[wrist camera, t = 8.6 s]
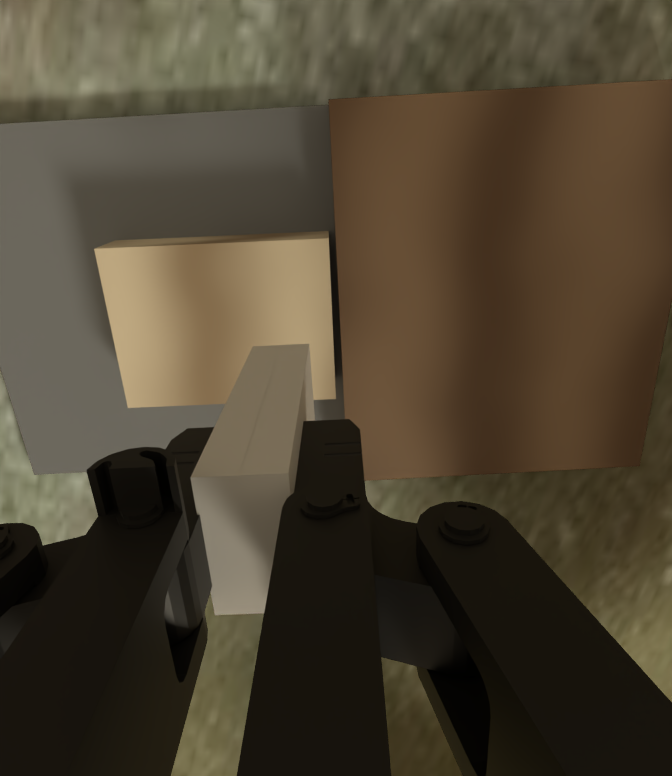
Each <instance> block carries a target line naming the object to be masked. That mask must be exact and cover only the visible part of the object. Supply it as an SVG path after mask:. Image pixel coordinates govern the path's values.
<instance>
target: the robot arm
mask: <svg viewBox="0 0 672 776" xmlns="http://www.w3.org/2000/svg"><path fill="white" fill-rule="evenodd" d="M87 474H88V478H89V482H90V486H91V490H92V493H93V497H94V501H95V505H96V509H97V513H98V518H97V519H96V520H95V522H94V523H93V525H92V526H91V528H90V529H89V531H88V532H87V534H86V535H84V536H81V537H77V538H73V539H69V540H64V541H60V542H56V543H52V544H48V545H42V542H41V539H40V536H39V533H38V532H37V530H36V529H35V527H33V526H30V525H27V524H24V523H6V524H0V776H171V772H172V769H173V765H174V761H175V757H176V754H177V750H178V746H179V743H180V739H181V735H182V732H183V728H184V724H185V721H186V717H187V713H188V710H189V706H190V702H191V699H192V695H193V691H194V688H195V684H196V680H197V677H198V673H199V669H200V666H201V662H202V658H203V655H204V651H205V647H206V644H207V634H208V629H207V623H206V618H205V612H204V611H205V608H206V605H207V601H208V598H209V595H210V591H211V596H212V602H213V608H214V613H215V615H231V614H257V613H264V618H263V624H262V630H261V636H260V641H259V647H258V653H257V659H256V665H255V671H254V677H253V683H252V689H251V695H250V701H249V707H248V713H247V719H246V725H245V731H244V736H243V742H242V748H241V754H240V760H239V766H238V772H237V776H391V768H390V756H389V744H388V733H387V721H386V709H385V698H384V686H383V674H382V663H381V657H384V658H387V659H391V660H395V661H399V662H403V663H407V664H411V665H414V666H417V670H418V675H419V678H420V680H421V682H422V685H423V687H424V689H425V691H426V694H427V696H428V698H429V700H430V703H431V705H432V707H433V709H434V712H435V714H436V716H437V718H438V721H439V723H440V725H441V727H442V730H443V732H444V734H445V736H446V739H447V741H448V743H449V745H450V748H451V750H452V752H453V755H454V757H455V759H456V761H457V764H458V766H459V768H460V770H461V773H462V775H463V776H672V702H671V701H670V700H669V699H668V698H667V697H666V696H665V695H664V694H663V692H662V691H661V690H660V689H659V688H658V687H657V686H656V685H655V684H654V682H653V681H652V680H651V679H650V678H649V677H648V676H647V675H646V674H645V672H644V671H643V670H642V669H641V668H640V667H639V666H638V665H637V664H636V662H635V661H634V660H633V659H632V658H631V657H630V656H629V655H628V654H627V652H626V651H625V650H624V649H623V648H622V647H621V646H620V645H619V644H618V643H617V641H616V640H615V639H614V638H613V637H612V636H611V635H610V634H609V633H608V631H607V630H606V629H605V628H604V627H603V626H602V625H601V624H600V623H599V621H598V620H597V619H596V618H595V617H594V616H593V615H592V614H591V613H590V611H589V610H588V609H587V608H586V607H585V606H584V605H583V604H582V603H581V601H580V600H579V599H578V598H577V597H576V596H575V595H574V594H573V593H572V591H571V590H570V589H569V588H568V587H567V586H566V585H565V584H564V583H563V582H562V580H561V579H560V578H559V577H558V576H557V575H556V574H555V573H554V572H553V570H552V569H551V568H550V567H549V566H548V565H547V564H546V563H545V562H544V560H543V559H542V558H541V557H540V556H539V555H538V554H537V553H536V552H535V550H534V549H533V548H532V547H531V546H530V545H529V544H528V543H527V542H526V540H525V539H524V538H523V537H522V536H521V535H520V534H519V533H518V532H517V530H516V529H515V528H514V527H513V526H512V525H511V524H510V523H509V522H508V520H507V519H505V518H504V517H503V516H501V515H500V514H499V513H497V512H496V511H495V510H493V509H490V508H488V507H485V506H482V505H480V504H475V503H470V502H462V501H459V502H444V503H441V504H438V505H435V506H432V507H430V508H429V509H427V510H426V511H425V512H424V513H422V514H421V515H420V517H419V520H418V522H417V523H411V522H405V521H401V520H397V519H393V518H390V517H388V516H385V515H383V514H381V513H380V512H378V511H377V510H375V509H374V508H373V507H372V506H371V505H370V503H369V502H368V500H367V497H366V493H365V481H364V469H363V458H362V446H361V435H360V429H359V428H358V427H357V426H356V425H355V424H354V423H353V422H352V421H351V420H350V419H339V420H317V421H315V414H314V401H313V387H312V374H311V360H310V347H309V344H291V345H271V346H253V347H252V349H251V351H250V353H249V355H248V358H247V360H246V362H245V364H244V366H243V368H242V370H241V372H240V374H239V377H238V379H237V381H236V383H235V385H234V387H233V389H232V391H231V393H230V395H229V398H228V400H227V402H226V404H225V406H224V408H223V410H222V412H221V414H220V416H219V419H218V421H217V423H216V425H215V427H205V428H187V429H186V430H184V431H183V432H182V433H180V434H179V435H177V436H176V437H175V438H173V439H172V440H171V441H170V443H169V444H168V446H167V448H166V449H162V448H159V447H139V448H132V449H126V450H123V451H120V452H116V453H113V454H110V455H108V456H106V457H104V458H102V459H100V460H98V461H96V462H95V463H94V464H93V465H92V466H90V467H89V468H88V469H87Z"/></svg>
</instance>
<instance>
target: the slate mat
mask: <svg viewBox="0 0 672 776" xmlns="http://www.w3.org/2000/svg"><path fill="white" fill-rule="evenodd" d="M318 231H329V253H330V275H331V297H332V319H333V341H334V364H335V388H336V399H324V400H313V401H314V414H315V421H317V420H339V419H345V413H344V394H343V375H342V355H341V336H340V317H339V297H338V278H337V259H336V239H335V220H334V201H333V182H332V162H331V143H330V124H329V105H317V106H300V107H282V108H265V109H248V110H231V111H214V112H197V113H179V114H162V115H145V116H128V117H111V118H93V119H76V120H59V121H42V122H25V123H8V124H0V368H1V372H2V375H3V378H4V381H5V384H6V387H7V390H8V394H9V397H10V400H11V403H12V406H13V409H14V412H15V416H16V419H17V422H18V425H19V428H20V431H21V434H22V438H23V441H24V444H25V447H26V450H27V453H28V457H29V460H30V463H31V466H32V469H33V472H34V475H37V474H56V473H75V472H87V469H88V468H89V467H90V466H92V465H93V464H94V463H95V462H96V461H98V460H100V459H102V458H104V457H106V456H108V455H110V454H113V453H116V452H120V451H123V450H126V449H132V448H139V447H159V448H162V449H166V448H167V446H168V444H169V443H170V441H171V440H172V439H173V438H175V437H176V436H177V435H179V434H180V433H182V432H183V431H184V430H186V429H187V428H205V427H215V425H216V423H217V421H218V419H219V416H220V414H221V412H222V410H223V408H224V406H225V404H209V405H186V406H163V407H140V408H128V406H127V401H126V397H125V392H124V387H123V383H122V378H121V373H120V368H119V364H118V359H117V354H116V350H115V345H114V340H113V335H112V331H111V326H110V321H109V317H108V312H107V307H106V303H105V298H104V293H103V288H102V284H101V279H100V274H99V270H98V265H97V260H96V255H95V251H94V249H95V248H97V247H100V246H102V245H105V244H108V243H110V242H113V241H115V240H137V239H160V238H182V237H205V236H227V235H250V234H272V233H295V232H318Z"/></svg>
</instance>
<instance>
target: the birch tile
mask: <svg viewBox="0 0 672 776" xmlns="http://www.w3.org/2000/svg"><path fill="white" fill-rule="evenodd" d="M94 251H95V255H96V260H97V265H98V270H99V274H100V279H101V284H102V288H103V293H104V298H105V303H106V307H107V312H108V317H109V321H110V326H111V331H112V335H113V340H114V345H115V350H116V354H117V359H118V364H119V368H120V373H121V378H122V383H123V387H124V392H125V397H126V401H127V406H128V408H140V407H163V406H186V405H209V404H226V402H227V400H228V398H229V395H230V393H231V391H232V389H233V387H234V385H235V383H236V381H237V379H238V377H239V374H240V372H241V370H242V368H243V366H244V364H245V362H246V360H247V358H248V355H249V353H250V351H251V349H252V347H253V346H271V345H291V344H309V347H310V360H311V374H312V387H313V400H324V399H336V388H335V364H334V341H333V319H332V297H331V275H330V253H329V231H318V232H295V233H272V234H250V235H227V236H205V237H182V238H160V239H137V240H115V241H113V242H110V243H108V244H105V245H102V246H100V247H97V248H95V249H94Z"/></svg>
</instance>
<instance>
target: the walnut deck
mask: <svg viewBox="0 0 672 776" xmlns="http://www.w3.org/2000/svg"><path fill="white" fill-rule="evenodd" d="M329 124H330V143H331V162H332V182H333V201H334V220H335V239H336V259H337V278H338V297H339V317H340V336H341V355H342V375H343V394H344V413H345V419H350V420H351V421H352V422H353V423H354V424H355V425H356V426H357V427H358V428H359V429H360V435H361V446H362V458H363V469H364V481H366V480H385V479H404V478H423V477H442V476H461V475H479V474H498V473H517V472H536V471H555V470H573V469H592V468H611V467H630V466H640V461H641V456H642V451H643V446H644V440H645V435H646V430H647V425H648V420H649V415H650V409H651V404H652V399H653V394H654V389H655V384H656V379H657V373H658V368H659V363H660V358H661V353H662V348H663V343H664V337H665V332H666V327H667V322H668V317H669V312H670V307H671V301H672V79H671V80H654V81H637V82H619V83H602V84H585V85H568V86H551V87H534V88H516V89H499V90H482V91H465V92H448V93H431V94H413V95H396V96H379V97H362V98H345V99H329Z"/></svg>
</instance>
